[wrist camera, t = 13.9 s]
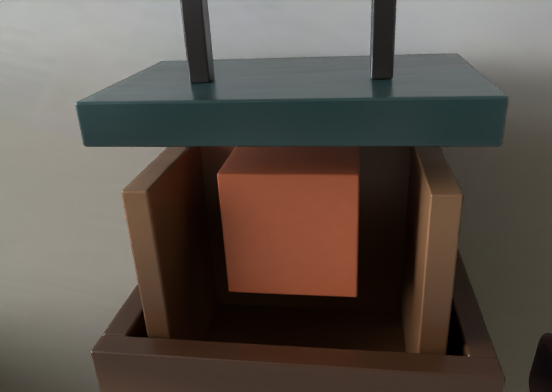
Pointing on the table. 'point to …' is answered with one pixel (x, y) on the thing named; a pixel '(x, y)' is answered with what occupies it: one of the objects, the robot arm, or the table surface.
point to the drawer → (299, 133)
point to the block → (291, 220)
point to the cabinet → (296, 360)
